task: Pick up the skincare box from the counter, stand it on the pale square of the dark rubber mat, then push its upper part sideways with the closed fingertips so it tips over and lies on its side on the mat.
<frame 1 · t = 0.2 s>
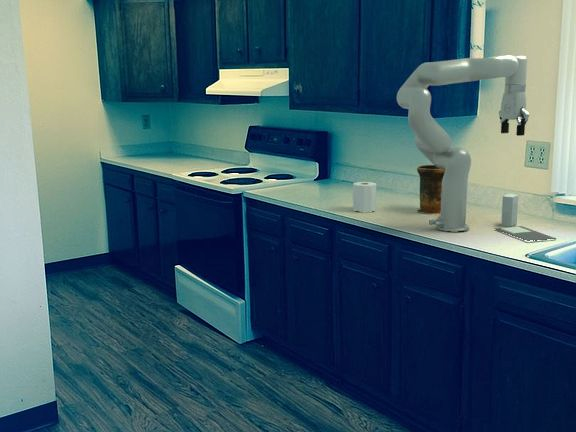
hand: (512, 134, 243), 36 cm above the countertop, tool pointing down, fingers open, 9 cm apart
vessel: (432, 211, 275), on the countertop
skincare box: (508, 225, 249), on the countertop
toilet paper: (364, 210, 279), on the countertop
mat: (524, 234, 234), on the countertop
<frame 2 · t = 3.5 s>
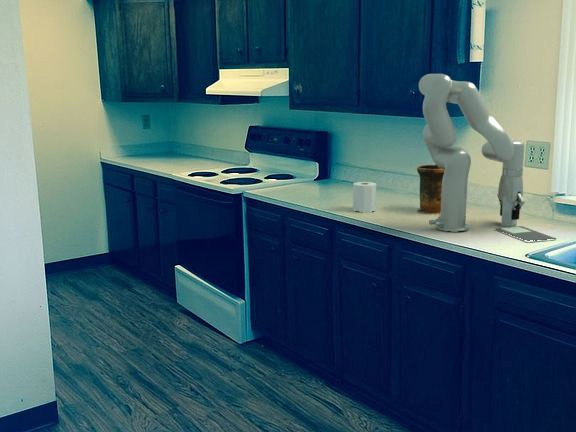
hand: (509, 217, 249), 3 cm above the countertop, tool pointing down, fingers closed on skincare box, 6 cm apart
skincare box: (508, 225, 249), on the countertop, touching gripper
everything else where it was.
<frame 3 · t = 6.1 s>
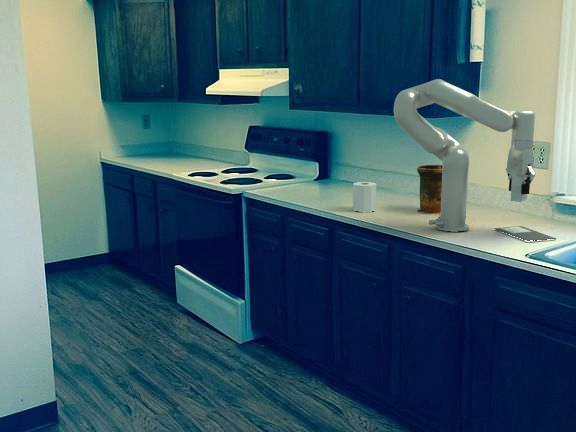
hand: (518, 192, 235), 15 cm above the countertop, tool pointing down, fingers closed on skincare box, 6 cm apart
skincare box: (518, 200, 236), point 12 cm above the countertop, touching gripper
everything else where it was.
when the fingers open (5 cm above the countertop, at t = 8.8 s): skincare box stays where it is, resting on mat.
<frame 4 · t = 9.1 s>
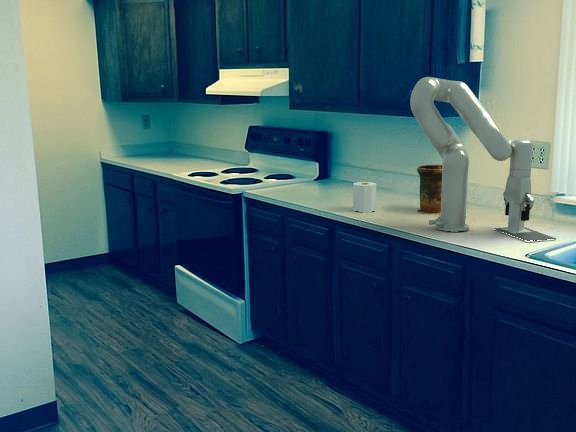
hand: (516, 217, 238), 5 cm above the countertop, tool pointing down, fingers open, 9 cm apart
skincare box: (515, 230, 239), point 1 cm above the countertop, touching mat
everything else where it was.
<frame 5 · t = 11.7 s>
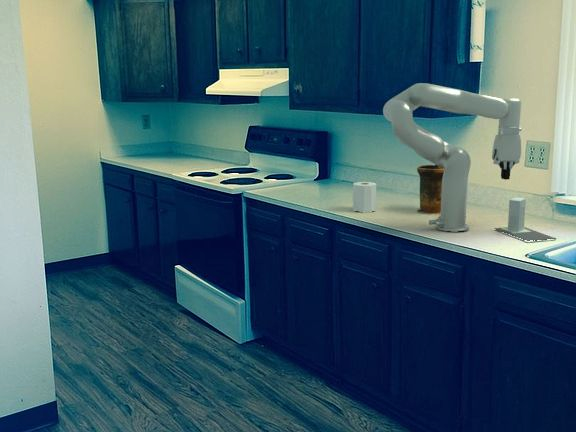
hand: (505, 178, 243), 19 cm above the countertop, tool pointing down, fingers closed
nothing on the countertop moved.
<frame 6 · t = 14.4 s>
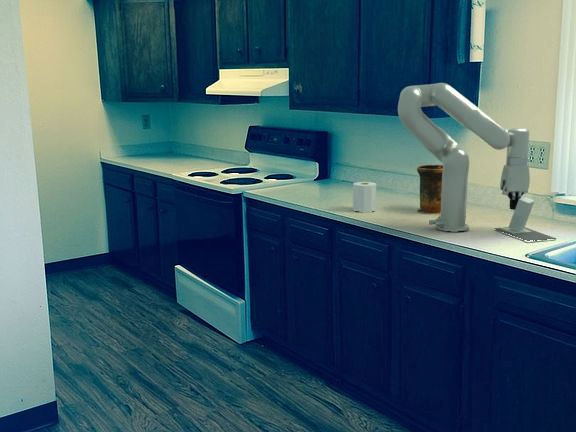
hand: (513, 209, 239), 8 cm above the countertop, tool pointing down, fingers closed
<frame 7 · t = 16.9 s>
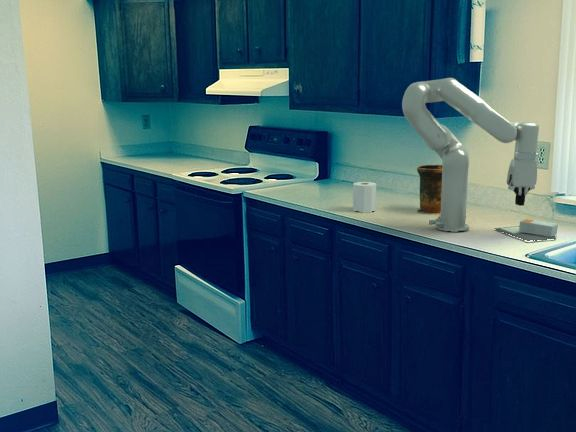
hand: (519, 204, 236), 11 cm above the countertop, tool pointing down, fingers closed
skincare box: (521, 224, 237), point 3 cm above the countertop, touching mat
everything else where it was.
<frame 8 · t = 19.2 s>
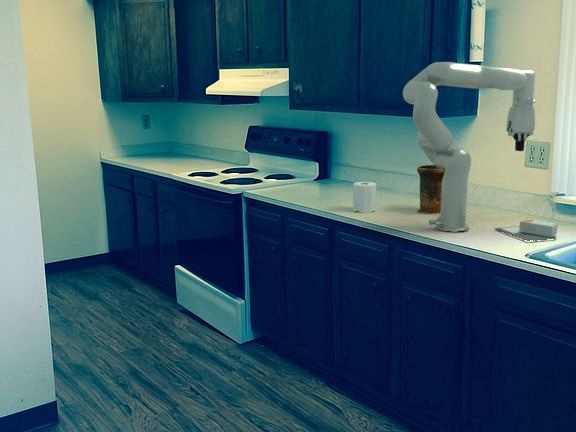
hand: (519, 150, 246), 29 cm above the countertop, tool pointing down, fingers closed
nothing on the countertop moved.
at the end: skincare box tilted 92°; skincare box inside the target area (4.4 cm from its centre), point 2.9 cm above the countertop; the gripper is holding nothing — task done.
